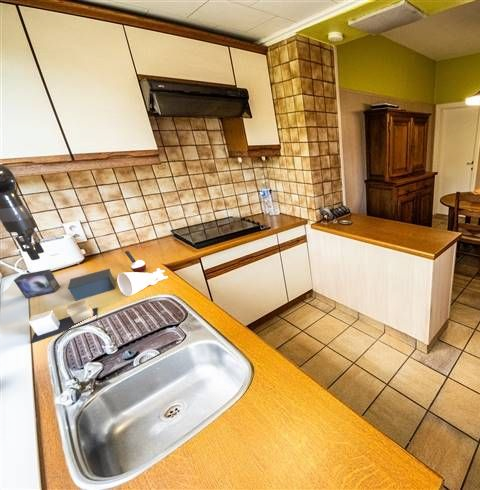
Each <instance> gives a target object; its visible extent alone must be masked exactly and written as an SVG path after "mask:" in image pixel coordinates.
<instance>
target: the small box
mask: <svg viewBox="0 0 480 490" xmlns="http://www.w3.org/2000/svg"><path fill="white" fill-rule="evenodd" d="M13 282H14V283H15V285H16V286H17V288H18V289H19V291H20V292H21V293H22V296H23V297H24V298H25V299H29V298H34V297H39V296H43V295H48V294H52V293H53V294H54V293H55V292H57V291H58V290H59V289H60V288H61V285H60V284H59V282H58V280H57V279H56V277H55V276H54V274H53V272H52V270H51V269H50V268H49V269H44V270H38V271H33V272H27V273H23V274H20V275H18V276H17V277H16V278H15V279H13Z"/></svg>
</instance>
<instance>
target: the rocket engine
mask: <svg viewBox="0 0 480 490" xmlns="http://www.w3.org/2000/svg"><path fill="white" fill-rule="evenodd" d="M164 273H165V270H164V269H162V270H161V269H160V268H156V270H155V271H152V272H151V273H150V272H141V273H140V272H134V271H132V272H131V271H129V272H128V271H125V272H119V273H118V275H117V277H116V278H117V279H116V280H117V286H118V288H119V290H120V292H121V293H122V294H123V296H125V297H131V296H133V295H135V294H137V293H139V292H140V291H142V290H144V289H145V288H147V287H148V286H153V285H156V284H157V283H158V282H160V281H163V280H166V279H168V278H169V276H168V275H164Z"/></svg>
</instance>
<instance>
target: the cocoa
mask: <svg viewBox="0 0 480 490" xmlns="http://www.w3.org/2000/svg"><path fill="white" fill-rule="evenodd" d="M124 253H125V255H126V256H127V257H128V259H129V260H130V261H131V265H130V269H131V271H132V272H140V273H145V271H146V270H147V265H146V262H145V261H144V260H142V259H137V260H136V259H135V257H134V256H133V255H132V254H131V252H130V251H129V250H125V252H124Z"/></svg>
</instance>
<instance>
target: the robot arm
mask: <svg viewBox="0 0 480 490" xmlns="http://www.w3.org/2000/svg"><path fill="white" fill-rule="evenodd" d="M0 223H1V224H2V226H3V227H4V229H5V231H6V232H7V233H16V234H17V236H15V240H16V242H17V245H18V246H19V247H20V249H21V251H22V252H23V253H26V254H27V255H28V257H29V259H30V260H31V261H37V260H40V259H41V258H40V255H39V254H44V253H45V250H44V248H43V247H42V245H41V239H40V237H39V235H38V234H37V232H36V230H35V229H36V228H37V227H38V226H37V223H36V221H35V220H34V218H33V216H32V214H31V213H30V211H29V209H28V208H27V207H26V205H25V203H24V202H23V200H22V198H21V197H20V195H19V193H18V186H17V182H16V177H15V174H14V173H13V172H12V171H11V169H9V168H8V167H7V166H5V165H3V164H1V163H0Z"/></svg>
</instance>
